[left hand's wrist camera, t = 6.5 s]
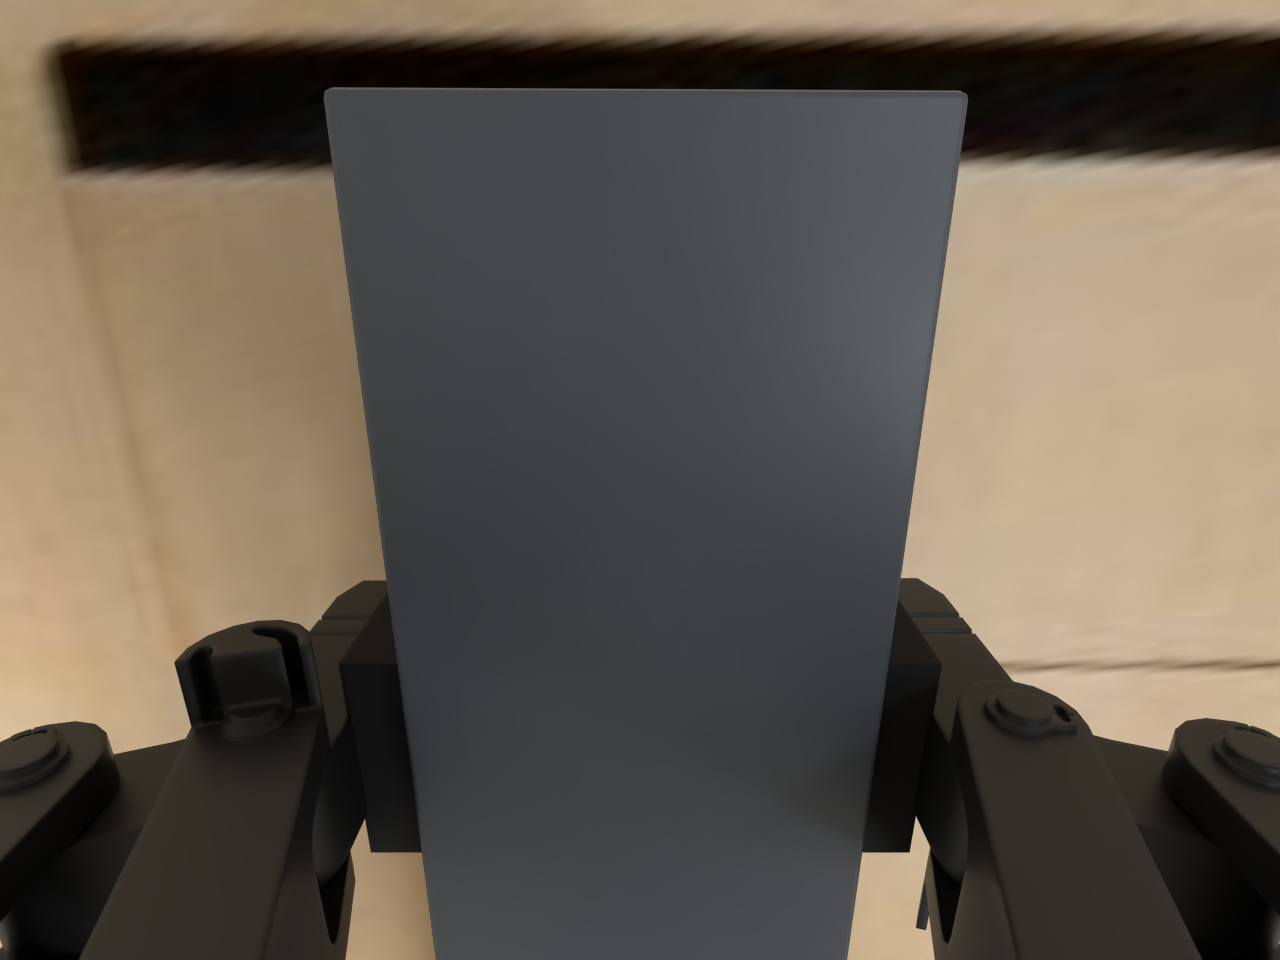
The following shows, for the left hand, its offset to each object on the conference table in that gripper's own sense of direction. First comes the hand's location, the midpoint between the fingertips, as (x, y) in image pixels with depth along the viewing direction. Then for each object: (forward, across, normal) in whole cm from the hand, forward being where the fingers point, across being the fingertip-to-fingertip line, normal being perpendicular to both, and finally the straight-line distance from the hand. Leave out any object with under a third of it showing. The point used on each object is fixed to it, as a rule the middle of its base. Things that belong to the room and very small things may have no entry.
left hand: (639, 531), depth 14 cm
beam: (0, 0, -19) cm, 19 cm away
